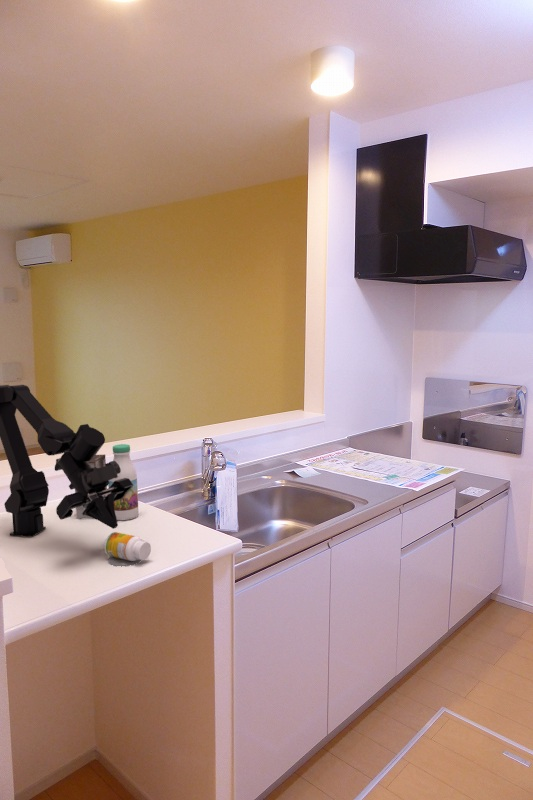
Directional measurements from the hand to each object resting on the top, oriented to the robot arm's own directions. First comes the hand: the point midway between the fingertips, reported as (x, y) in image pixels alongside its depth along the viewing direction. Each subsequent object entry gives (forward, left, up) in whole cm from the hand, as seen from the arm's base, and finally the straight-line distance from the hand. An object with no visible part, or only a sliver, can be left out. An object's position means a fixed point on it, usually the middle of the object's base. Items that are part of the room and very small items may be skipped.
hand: (115, 527), depth 132 cm
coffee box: (-21, +29, -7) cm, 36 cm away
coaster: (+2, -1, -7) cm, 8 cm away
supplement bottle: (-2, +1, -4) cm, 5 cm away
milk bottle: (-11, +28, -7) cm, 30 cm away
